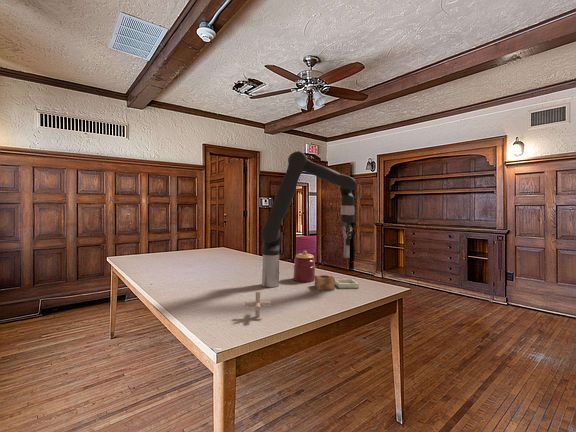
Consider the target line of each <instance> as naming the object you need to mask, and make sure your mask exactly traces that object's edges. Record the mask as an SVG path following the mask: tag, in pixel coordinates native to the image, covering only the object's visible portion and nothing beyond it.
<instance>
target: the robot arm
mask: <svg viewBox="0 0 576 432" xmlns="http://www.w3.org/2000/svg"><path fill="white" fill-rule="evenodd" d="M287 163H288V164H287V169H286V171H285V172H286V173H285V175H284V177H283V178H282V180H281V182H280V184H279V185H278V188H277V191H276V194H275V197H274V199H273V202H272V206H271V209H270V213H269V215H268V218H267V220H266V222H265V224H264V227H263V228H262V230H261V238H262V240H263V241H264V243H263V244H264V245H263V248H262V266H261V267H262V269H261V286H262V287H265V288H276V287H279V286H280V251H281V244H282V243H281V239H282V238H281V237H282V235H281V234H282V233H281V230H280V228H281V224H282V221H283V219H284V217H285V215H287V212H288V211H289V208H290V206H291V204H292V201H293V198H294V196H295V193H296V191H297V190H296V189H297V185H298V182H299V179H300V176H301V174H302V172H304V173H305V172H307V173H308V174H311V175H312V176H315V177H317V178H319V179H321V180H323V181H326V182H327V183H330V184H332V185H334V186H335V185H336V186H338V187H339V188H340V189H339V190H340V196H341V203H340V204H341V206H340V223H343V225H342V226H341V233H342V234H341V235H342V237H343V239H344V231H345V234H346V245H351V239H352V238H353V232H354V227H352V224H353V223H355V213H356V212H355V210H356V209H355V196H354V195H353V190H354V189H356V188H357V181H356V179H355V178H354V177H351V176H350V175H346V174H344V173H340V172H339V171H336V170H334V169H332V168H329V167H327V166H324V165H321V164H318V163H315V162H313V161H312V160H310V159H308V158H307V156H306V154H305V153H304V152H303V151H294V152H292V153H291V154H289V156H288V158H287ZM347 232H348V233H347Z"/></svg>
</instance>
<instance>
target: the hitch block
mask: <svg viewBox="0 0 576 432" xmlns="http://www.w3.org/2000/svg"><path fill="white" fill-rule="evenodd" d="M335 279H336V278H335V277H334V276H332V275H331V274H315V280H314V287H315V288H316V289H317V290H318V291H335V290H336V285H335Z"/></svg>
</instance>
